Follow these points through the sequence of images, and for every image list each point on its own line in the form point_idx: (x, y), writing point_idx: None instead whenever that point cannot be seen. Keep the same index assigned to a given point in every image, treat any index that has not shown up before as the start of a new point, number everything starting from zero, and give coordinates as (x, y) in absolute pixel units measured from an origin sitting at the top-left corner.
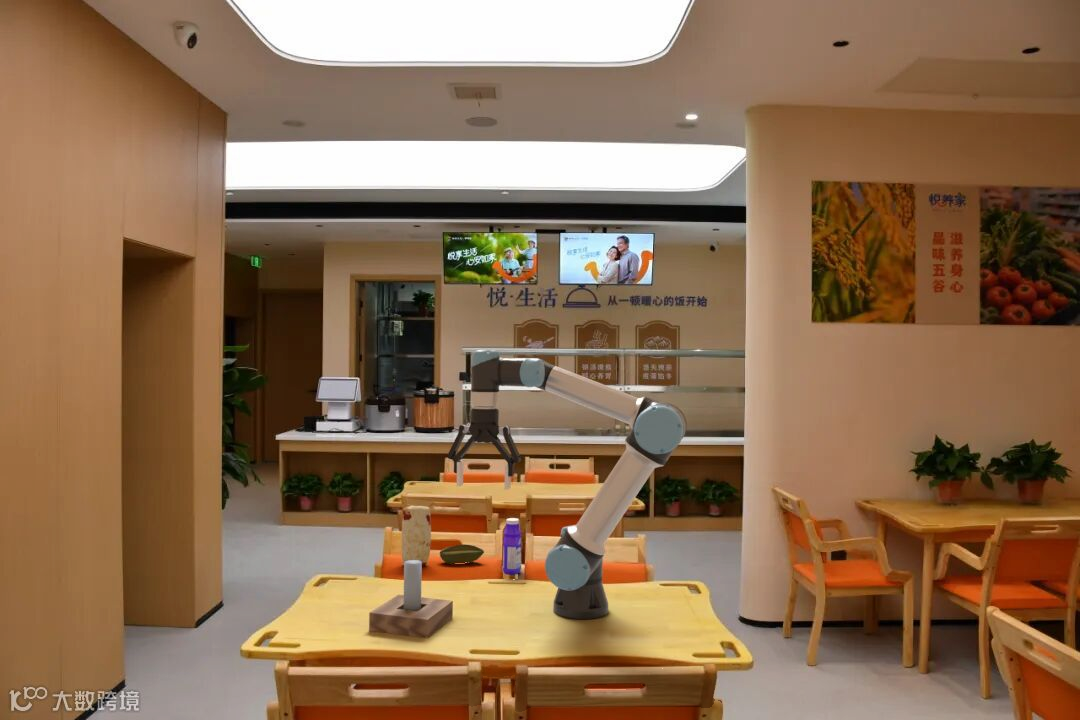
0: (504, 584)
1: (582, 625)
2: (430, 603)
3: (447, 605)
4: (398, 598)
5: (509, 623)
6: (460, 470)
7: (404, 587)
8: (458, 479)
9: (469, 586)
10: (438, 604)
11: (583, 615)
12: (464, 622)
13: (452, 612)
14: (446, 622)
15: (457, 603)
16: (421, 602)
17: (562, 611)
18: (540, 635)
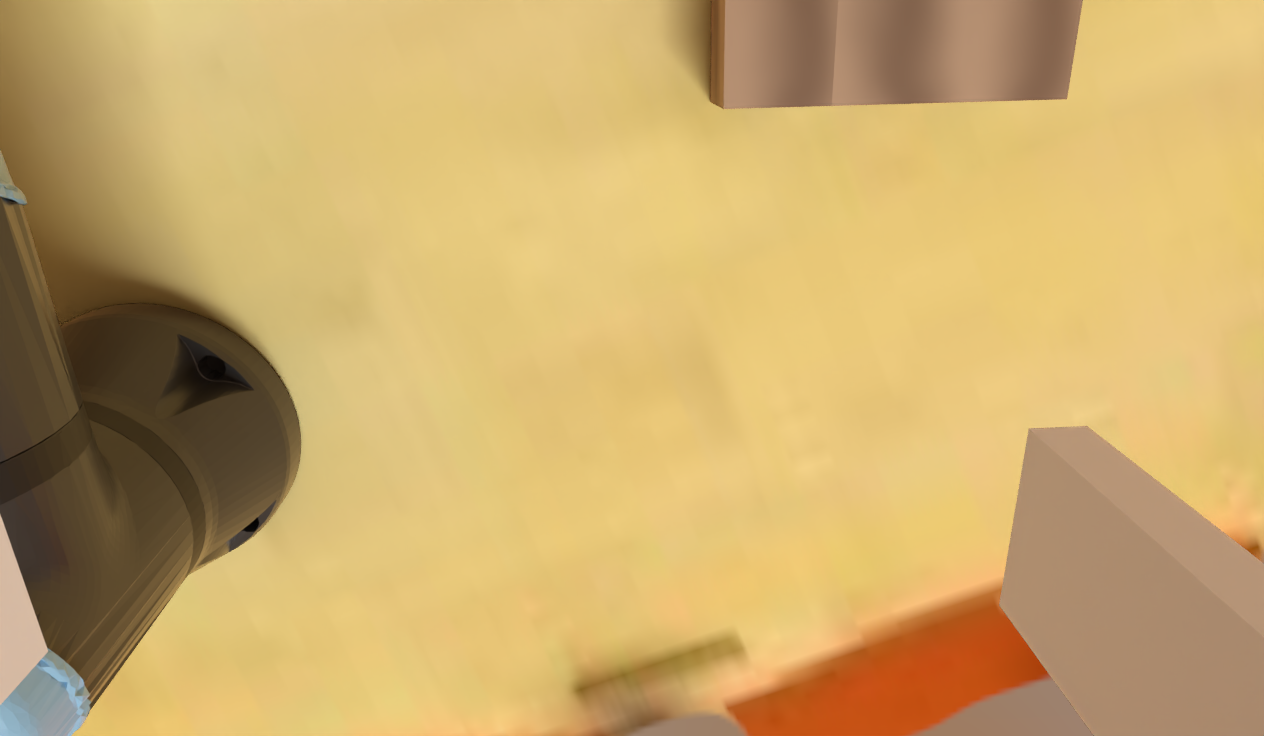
0: (660, 644)
1: (54, 232)
2: (829, 9)
3: (724, 23)
4: (1044, 30)
5: (400, 126)
6: (1259, 730)
7: None
8: (1134, 502)
9: (804, 566)
10: (777, 7)
11: (77, 317)
12: (623, 54)
13: (714, 102)
14: (711, 15)
15: (769, 320)
16: (887, 7)
17: (191, 323)
18: (169, 4)
